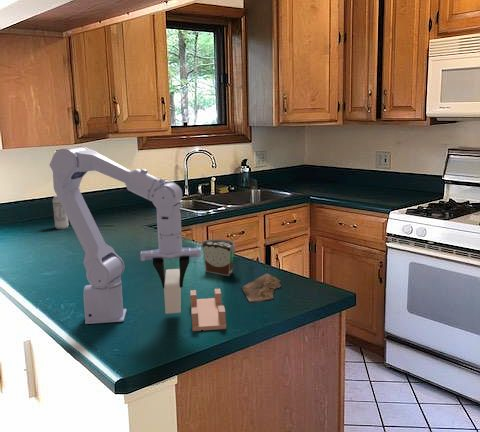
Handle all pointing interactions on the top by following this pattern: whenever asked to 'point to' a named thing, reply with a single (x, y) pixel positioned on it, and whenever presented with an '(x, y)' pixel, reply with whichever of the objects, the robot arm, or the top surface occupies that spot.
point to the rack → (207, 312)
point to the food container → (218, 256)
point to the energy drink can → (59, 214)
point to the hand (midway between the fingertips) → (172, 286)
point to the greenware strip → (172, 291)
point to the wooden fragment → (261, 288)
